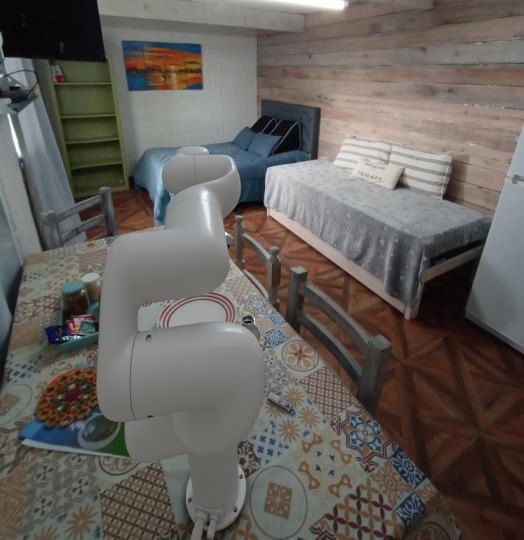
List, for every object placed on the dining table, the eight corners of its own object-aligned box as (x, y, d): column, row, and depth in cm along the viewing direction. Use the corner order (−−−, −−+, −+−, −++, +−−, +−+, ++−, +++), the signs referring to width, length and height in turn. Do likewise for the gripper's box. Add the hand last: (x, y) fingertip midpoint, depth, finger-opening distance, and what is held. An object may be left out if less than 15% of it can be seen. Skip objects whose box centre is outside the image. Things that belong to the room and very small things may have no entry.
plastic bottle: (257, 384, 89) (257, 330, 82) (235, 380, 91) (232, 326, 83) (262, 365, 95) (262, 312, 88) (241, 361, 97) (239, 309, 89)
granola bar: (266, 399, 85) (266, 396, 85) (270, 392, 87) (270, 389, 87) (288, 412, 82) (288, 410, 82) (292, 405, 84) (292, 402, 83)
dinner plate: (145, 318, 113) (143, 311, 111) (211, 286, 129) (210, 279, 128) (180, 371, 93) (179, 363, 92) (252, 326, 110) (252, 318, 108)
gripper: (152, 205, 70) (161, 269, 76) (228, 210, 67) (231, 277, 74) (167, 192, 77) (174, 252, 83) (236, 197, 74) (238, 259, 80)
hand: (201, 264), depth 78 cm, fingers open, 9 cm apart
